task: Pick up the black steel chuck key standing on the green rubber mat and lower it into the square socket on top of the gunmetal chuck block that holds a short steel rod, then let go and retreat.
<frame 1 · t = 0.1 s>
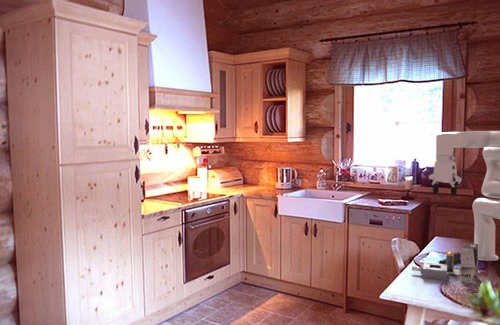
hand: (444, 194, 203), 37 cm above the table, tool pointing down, fingers open, 9 cm apart
coffee box: (469, 281, 190), on the table
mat: (449, 271, 202), on the table
chuck: (435, 277, 196), on the table
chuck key: (449, 261, 202), on the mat
hand tool: (450, 264, 215), on the table
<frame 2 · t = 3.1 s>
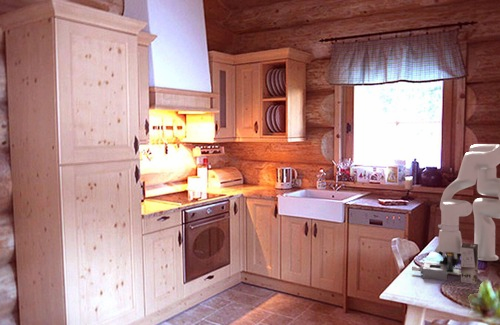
hand: (449, 265, 202), 3 cm above the table, tool pointing down, fingers closed on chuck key, 3 cm apart
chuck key: (449, 261, 202), on the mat, touching gripper
everything else where it was.
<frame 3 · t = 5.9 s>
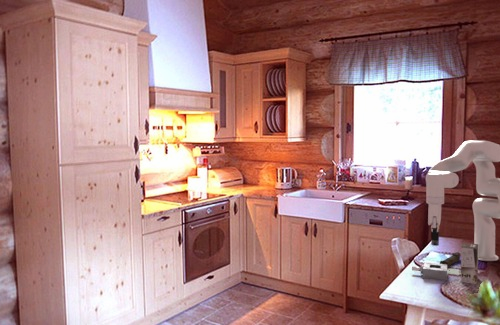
hand: (435, 239, 195), 18 cm above the table, tool pointing down, fingers closed on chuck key, 3 cm apart
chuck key: (435, 235, 195), point 20 cm above the table, touching gripper
everything else where it was.
when the fingers open (6 cm above the table, at t = 8.8 s): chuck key drops 2 cm, resting on chuck.
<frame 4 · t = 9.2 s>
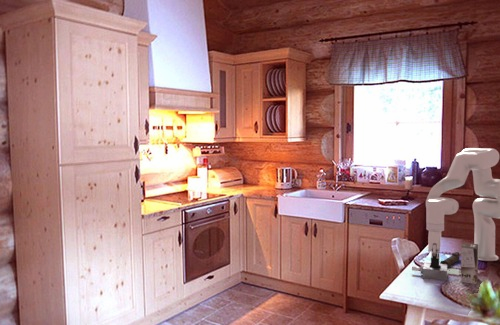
hand: (435, 263, 196), 6 cm above the table, tool pointing down, fingers open, 7 cm apart
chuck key: (435, 265, 196), in the chuck, point 5 cm above the table
everything else where it was.
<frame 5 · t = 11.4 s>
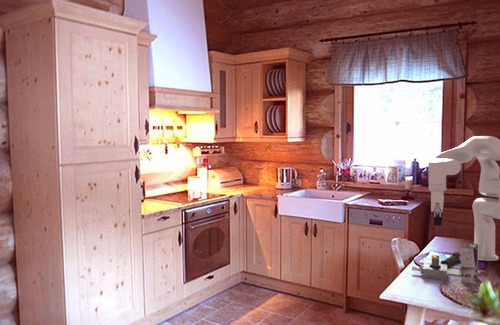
hand: (438, 222, 200), 24 cm above the table, tool pointing down, fingers open, 9 cm apart
nothing on the table moved.
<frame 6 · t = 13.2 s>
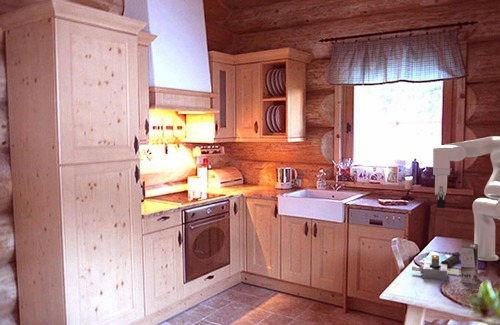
hand: (441, 206, 209), 30 cm above the table, tool pointing down, fingers open, 9 cm apart
nothing on the table moved.
at the end: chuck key 0.1 cm off-centre on the chuck, point 5.3 cm above the chuck's base; the gripper is holding nothing; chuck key tilted 1° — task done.
